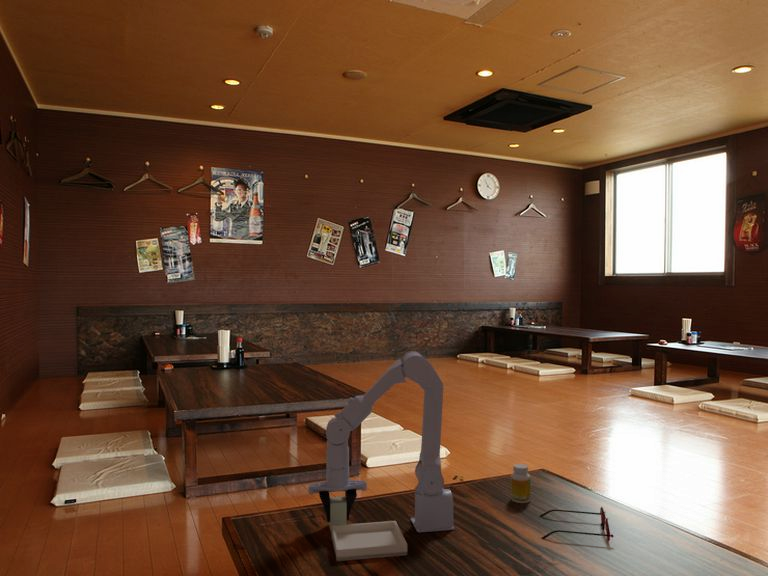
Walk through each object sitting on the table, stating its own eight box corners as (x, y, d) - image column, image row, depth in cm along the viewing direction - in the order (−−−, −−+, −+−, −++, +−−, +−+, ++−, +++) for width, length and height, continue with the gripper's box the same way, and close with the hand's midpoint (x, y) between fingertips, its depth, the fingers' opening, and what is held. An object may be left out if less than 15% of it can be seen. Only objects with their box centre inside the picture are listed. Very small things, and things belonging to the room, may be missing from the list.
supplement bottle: (530, 504, 161) (530, 469, 161) (510, 502, 162) (511, 468, 162) (529, 497, 166) (529, 463, 166) (510, 495, 168) (510, 462, 167)
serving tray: (395, 530, 144) (395, 520, 144) (407, 555, 131) (407, 544, 131) (331, 535, 141) (331, 525, 141) (336, 561, 128) (336, 550, 128)
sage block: (344, 523, 148) (344, 496, 148) (346, 530, 144) (346, 502, 144) (329, 524, 147) (329, 497, 147) (330, 531, 144) (330, 503, 143)
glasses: (613, 547, 136) (613, 526, 136) (541, 540, 140) (541, 519, 140) (605, 523, 150) (605, 504, 150) (538, 517, 153) (538, 498, 153)
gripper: (363, 459, 151) (363, 511, 151) (307, 462, 148) (307, 515, 148) (368, 468, 144) (367, 522, 144) (309, 471, 141) (309, 527, 142)
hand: (337, 519), depth 146 cm, fingers closed on sage block, 4 cm apart
